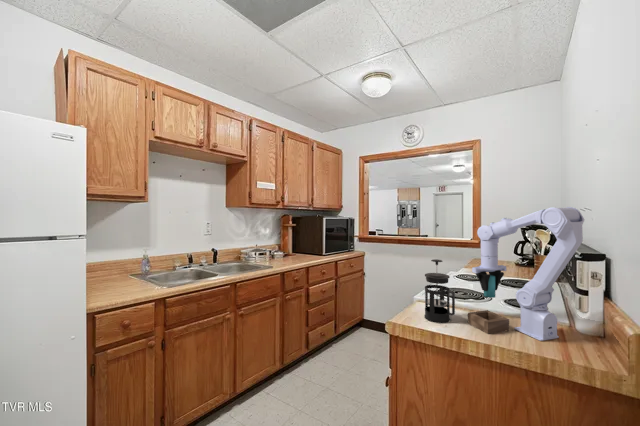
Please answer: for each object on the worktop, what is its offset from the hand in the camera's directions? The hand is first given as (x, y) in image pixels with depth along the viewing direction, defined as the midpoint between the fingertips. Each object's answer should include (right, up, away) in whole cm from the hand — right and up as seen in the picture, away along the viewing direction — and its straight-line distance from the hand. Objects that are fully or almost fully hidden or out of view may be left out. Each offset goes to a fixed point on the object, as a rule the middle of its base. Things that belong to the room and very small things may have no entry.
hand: (489, 290), depth 111 cm
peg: (0, -2, 0) cm, 2 cm away
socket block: (-7, -11, -10) cm, 16 cm away
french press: (-21, -11, -2) cm, 24 cm away
